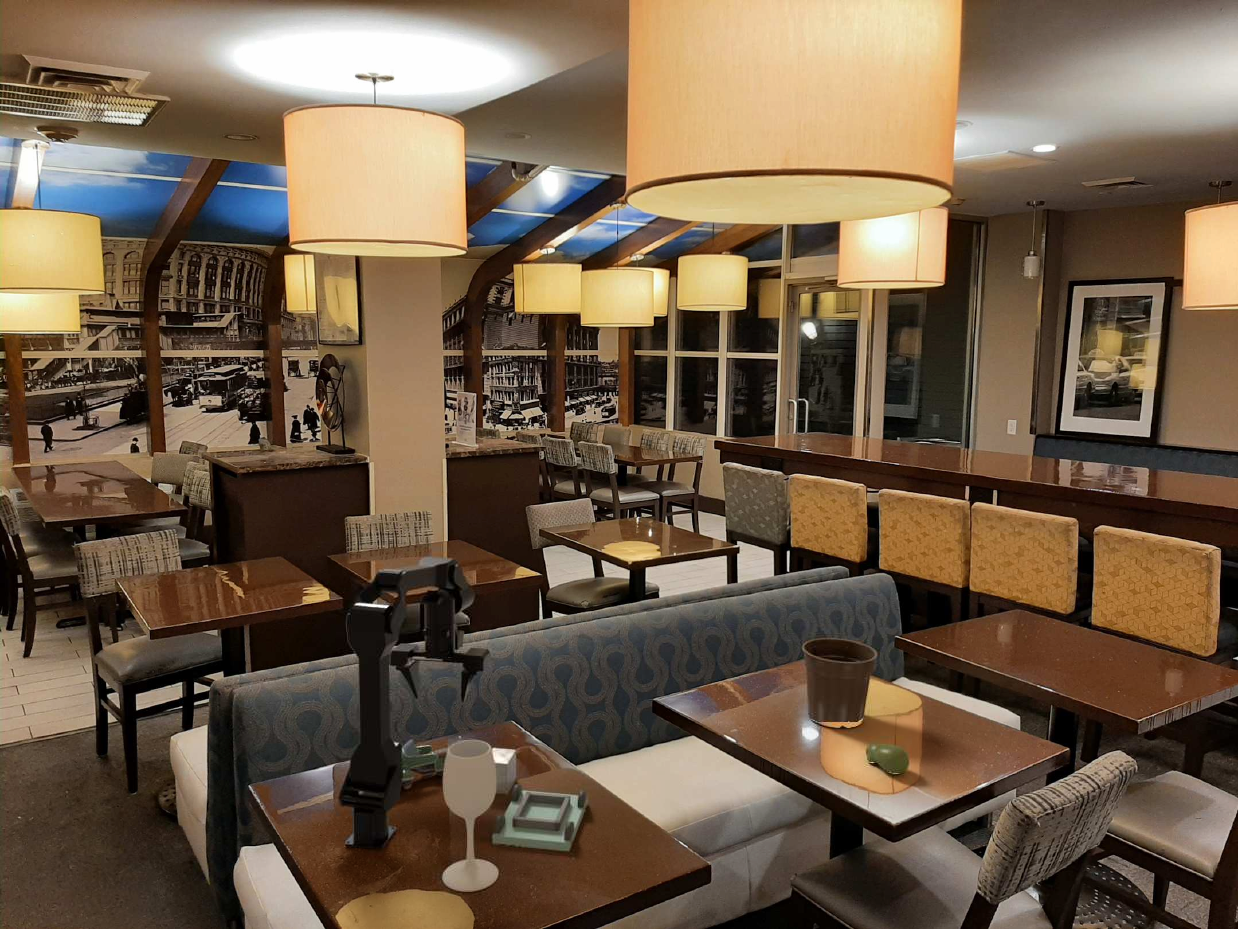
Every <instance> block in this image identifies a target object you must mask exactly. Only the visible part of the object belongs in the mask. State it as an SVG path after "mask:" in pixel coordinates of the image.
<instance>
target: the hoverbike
mask: <svg viewBox="0 0 1238 929" xmlns="http://www.w3.org/2000/svg"><path fill="white" fill-rule="evenodd" d="M457 740H458V741H457V742H460V741H462V738H461V736H460V735H459V736H458V739H457ZM449 747H450V746H449ZM449 747H448V746H447V747H444V748H440V749H439V748H438V749H435V750H433V746H432V745H420V746H418V744H415V742H414V739H412V738H411V739H410V740H408V741H407V742H406V743H405V744H404V745H403V746H402V763H403V766H401V767H402V769H403V777H402V784H401V788H402V787H403V788H404V789H405V790H409V789H411V787H412V784H413V783H412V780H413V779H414V778H415V775H414V774H415V773H417V774H418V775H419V774H420V775H422V777H423V778H428V777H433V775H434V774H433V773H437V775H438V776H440V777H443V772H444V765H445V759H446V755H447V751H448V748H449ZM358 791H360V790H359V789H358ZM361 791H362V792H364V790H361ZM366 792H369V793H370V791H366ZM382 794H383V795H384V793H382Z"/></svg>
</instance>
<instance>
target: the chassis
mask: <svg viewBox="0 0 1238 929" xmlns="http://www.w3.org/2000/svg"><path fill="white" fill-rule="evenodd" d="M512 787H513V788H512V790H511V801H510V803H509V805H508V807H507V809H506V810H505V813H504V814H497V815H496V817H495V820H494V825H493V834H492V844H493V843H499V844H507V845H506V846H509V845H515V846H514V847H519V846H521V847H520V848H528V849H529V848H532V849H538V850H539V849H540V850H551V851H560V852H570V850H571V848H572V845H573V842H574V841H575V837H576V835H577V832H578V830H579V827H580V824H581V822H582V819H583V817H584V814H585V812H586V809H587V807H586V806H588V804H589V803H588V799H589V798H588V792H587V791H586V790H582V789H581V790H579V791H578V795H576V794H567V793H556V792H555V793H554V792H544V791H533V790H523V787H522V785H521V784H513V786H512ZM587 803H588V804H587ZM585 808H586V809H585ZM499 844H498V845H499Z"/></svg>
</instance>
